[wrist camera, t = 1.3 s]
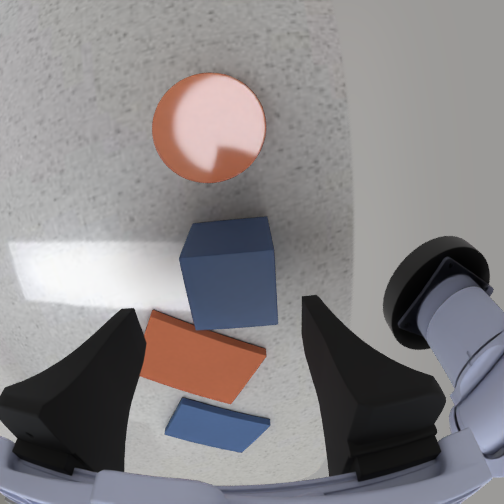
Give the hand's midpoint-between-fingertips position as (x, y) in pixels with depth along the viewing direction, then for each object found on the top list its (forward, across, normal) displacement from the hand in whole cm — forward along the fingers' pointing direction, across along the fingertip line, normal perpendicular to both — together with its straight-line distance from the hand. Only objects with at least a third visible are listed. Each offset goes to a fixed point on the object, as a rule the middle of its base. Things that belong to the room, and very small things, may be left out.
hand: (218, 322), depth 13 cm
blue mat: (+7, +4, +20) cm, 22 cm away
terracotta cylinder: (+7, 0, -8) cm, 11 cm away
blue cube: (+7, 0, 0) cm, 7 cm away
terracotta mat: (+7, +4, +10) cm, 13 cm away
